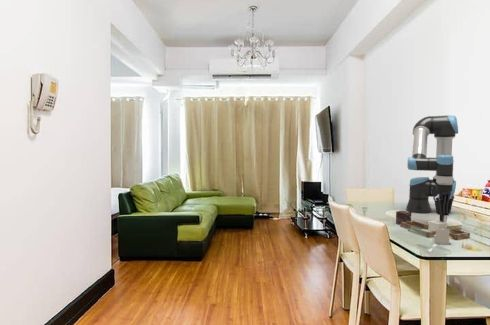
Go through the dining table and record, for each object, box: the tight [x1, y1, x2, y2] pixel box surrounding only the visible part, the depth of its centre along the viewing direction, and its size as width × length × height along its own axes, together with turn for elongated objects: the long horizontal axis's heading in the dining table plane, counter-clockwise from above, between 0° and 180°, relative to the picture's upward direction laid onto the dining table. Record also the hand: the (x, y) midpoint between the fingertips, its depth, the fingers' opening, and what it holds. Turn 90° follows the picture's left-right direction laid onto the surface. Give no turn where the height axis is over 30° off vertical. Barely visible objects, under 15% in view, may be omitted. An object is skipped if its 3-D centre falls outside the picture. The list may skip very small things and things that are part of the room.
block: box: [427, 220, 448, 232], centre depth 169 cm, size 6×6×5 cm
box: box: [395, 210, 413, 225], centre depth 184 cm, size 6×6×7 cm
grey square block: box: [433, 229, 453, 245], centre depth 150 cm, size 3×7×7 cm, turn 72°
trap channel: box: [399, 220, 471, 241], centre depth 168 cm, size 23×28×2 cm
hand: (442, 226), depth 170 cm, fingers closed
